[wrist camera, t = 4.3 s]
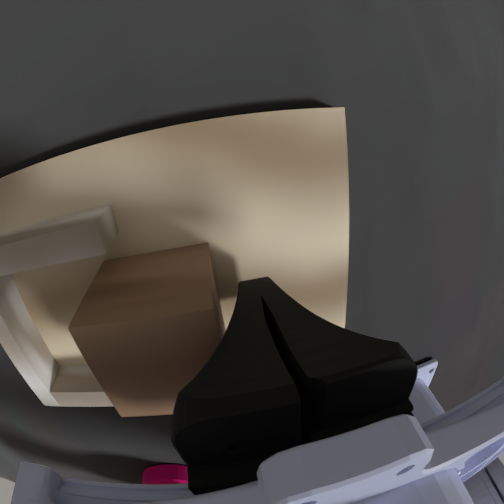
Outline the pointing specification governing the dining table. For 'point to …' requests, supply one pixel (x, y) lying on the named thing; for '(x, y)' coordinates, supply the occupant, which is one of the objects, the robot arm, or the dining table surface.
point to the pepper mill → (165, 474)
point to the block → (150, 326)
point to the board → (172, 226)
